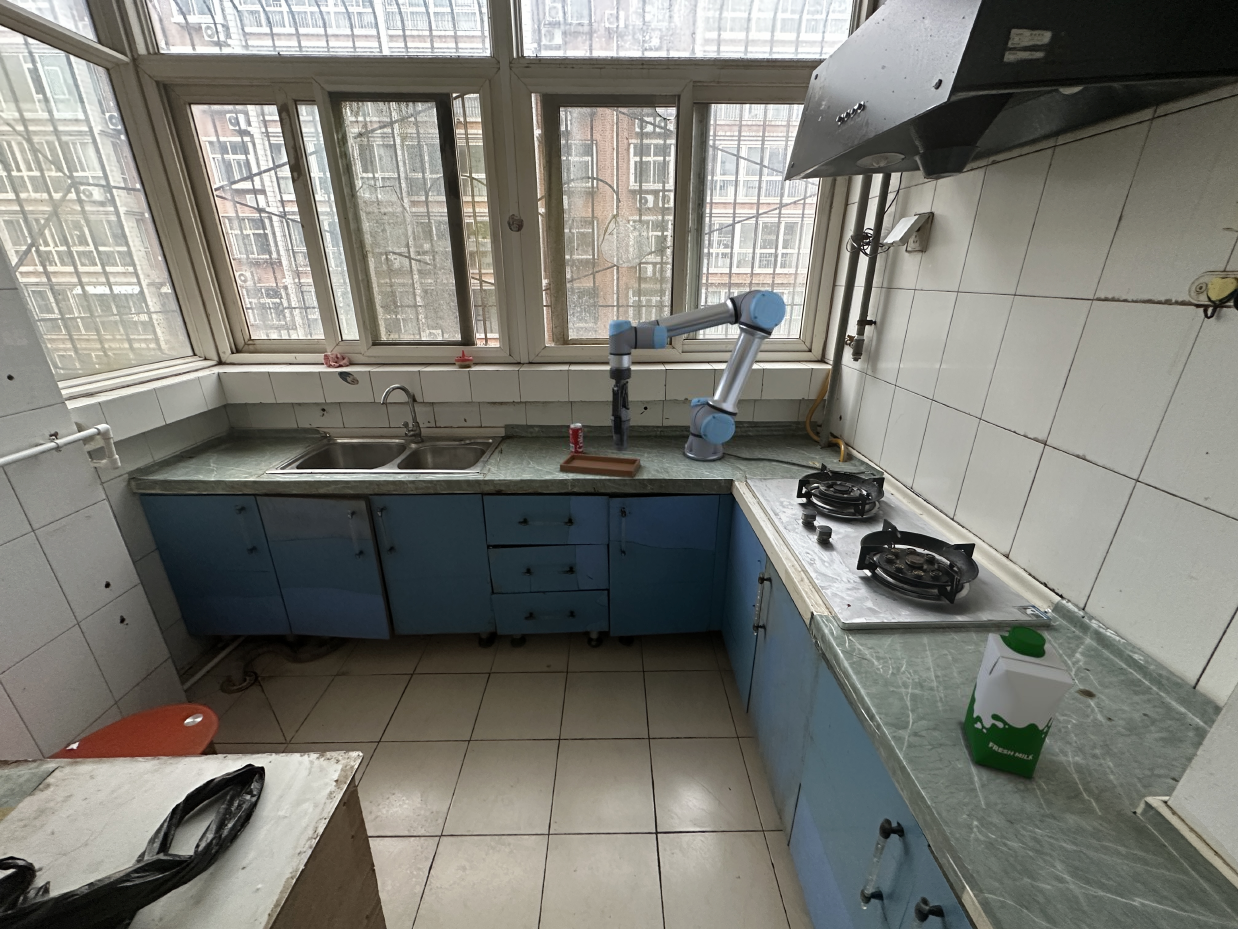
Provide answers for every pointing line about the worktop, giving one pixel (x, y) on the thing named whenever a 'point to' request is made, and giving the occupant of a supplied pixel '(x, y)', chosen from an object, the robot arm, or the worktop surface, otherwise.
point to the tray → (600, 465)
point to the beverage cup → (622, 440)
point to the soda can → (576, 439)
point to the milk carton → (1015, 700)
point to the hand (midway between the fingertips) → (620, 430)
